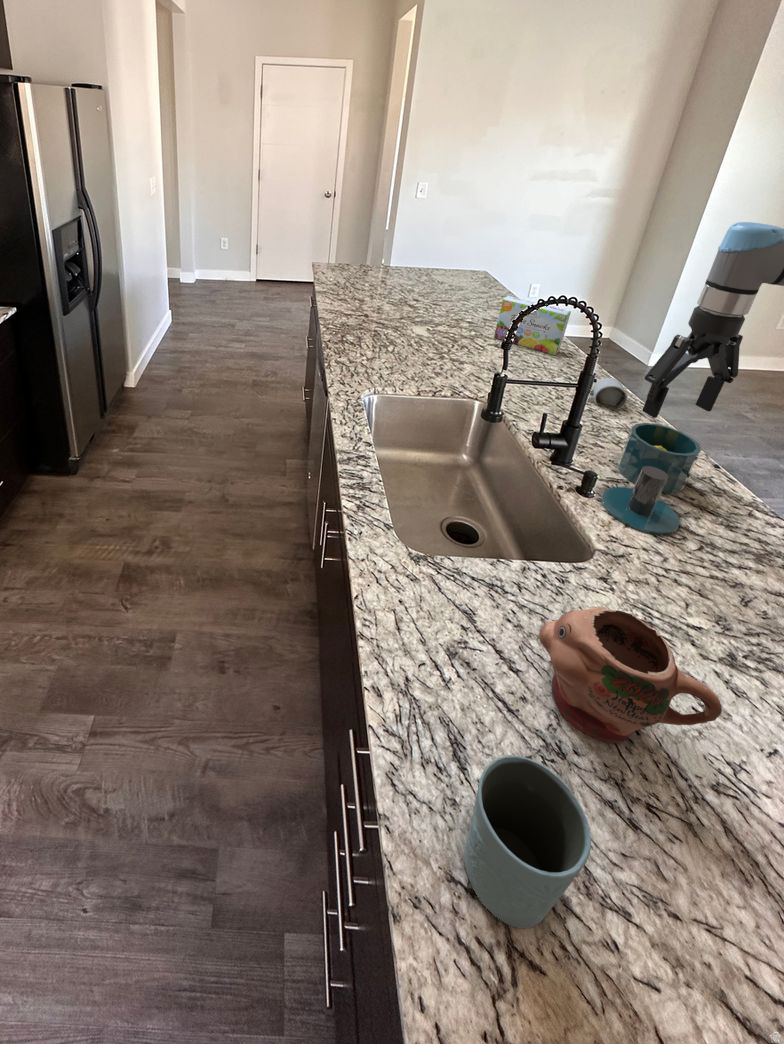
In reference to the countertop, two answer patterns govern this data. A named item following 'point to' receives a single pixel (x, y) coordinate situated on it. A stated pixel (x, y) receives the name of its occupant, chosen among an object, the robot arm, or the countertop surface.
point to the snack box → (533, 325)
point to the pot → (659, 454)
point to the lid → (642, 504)
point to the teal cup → (524, 840)
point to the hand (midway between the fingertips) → (676, 411)
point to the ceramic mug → (609, 393)
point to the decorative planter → (617, 675)
